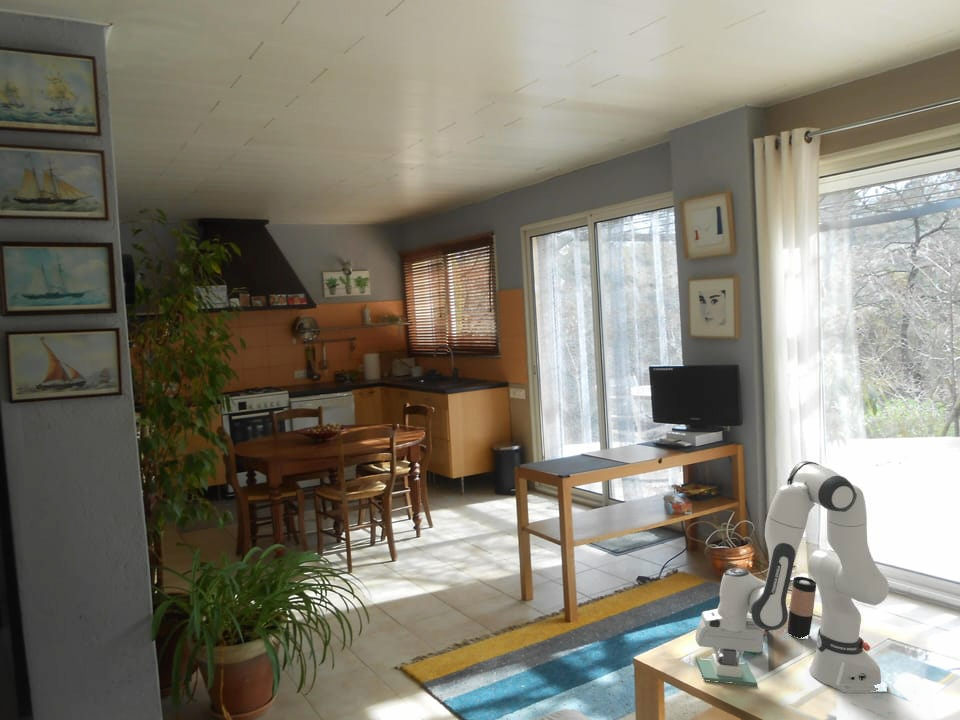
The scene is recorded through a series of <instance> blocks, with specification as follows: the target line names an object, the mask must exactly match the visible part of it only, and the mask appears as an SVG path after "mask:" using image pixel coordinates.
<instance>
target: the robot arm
mask: <svg viewBox="0 0 960 720" xmlns="http://www.w3.org/2000/svg"><path fill="white" fill-rule="evenodd" d="M790 471H791V472H790V473H789V476H788V478H787V481H786V483H787V484H784V485H781V486H780V487H779V488H778V489H777V491H776V492H775V495H774V497H773V499H772V501H771V504H770V506H769V509H768V512H767V516H766V520H765V525H764V526H765V527H764V538H765V539H764V540H765V544H766V548H767V552H768V560H769V563H768V571H767V575H766V578H765V580H762V579H760V578H758V577H757V576H755V575H754V574H752V573H751V572H750V571H749V570H747V569H745V568H742V567H731V568H729V569H727V570H726V571H724V573H723V575H722V578H721V582H720V587H719V604H718V606H717V607H716V608H714V609H710V610H703V611H702V612H701V620H699V622H698V624H697V627H696V633H695V642H696V644H697V645H698V646H699V647H702V648H710V649H711V648H712V649H713V651H714V654H716V657H715V658H716V661H721V659H722V656H721V654H720V648H721V649H731V650H736V651H737V654H736V663H739V662H740V659H741V658H742V657H743V655H744V654H745V652H747V651H751V652H759V653H761V652H762V651H763V649H764V635H765V634H764V633H765V630H769V631H775V630H776V631H777V630H779V629H781V628H783V627H784V626H785V625H786V624H787V623H788V622H787V621H788V620H789V611H788V607H787V594H788V591H789V586H790V582H791V577H792V574H793V569H794V564H795V561H796V558H797V556H798V555H797V554H798V552H799V548H800V545H801V542H802V540H803V536H804V533H805V531H806V527H807V523H808V519H809V514H810V512H811V510H812V509H813V508H814V507H815V506H816V504H818V505H819V506H821V507H823V508H824V509H826V538H827V542H828V544H829V546H830V547H831V548H832V549H833V550H832V551H831V550H829V549H818V550H816V551H814V552H813V553H812V554H811V555H810V557H809V559H808V560H807V561H808V562H807V569H808V572H809V574H810V576H811V577H812V578H813V579H812V580H814V581H815V582H816V588H817V589H818V592H819V596H820V599H821V600H820V601H821V619H820V627H819V629H818V633H817V636H816V650H815V653H814V657H813V659H812V662H811V664H810V666H809V668H808V672H809V673H810V674H811V675H812V677H814V679H816V680H818V681H819V682H821V683H822V684H826V685H827V686H831V687H833V688H835V689H837V690H838V691H840V692H841V693H849V694H850V693H851V694H852V693H854V694H855V693H865V692H866V693H867V692H871V691H876V690H878V688H875V686H874V685H877V684H880V683H881V676H882V673H881V669H880V666H879V665H878V662H877V661H876V660H875V659H874V658H873V657H872V656H871V655H870V654H869V653H868V652H869V651H870V650H871V646H870V645H869V643H867V642H866V641H864V639H863V638H862V637H860V630H861V623H862V616H861V615H862V614H861V612H860V610H859V608H858V607H857V606H856V605H855V604H854V602H853V600H855V601H857V602H859V603H862V604H866V605H870V606H878V605H879V604H882V602H884V601H885V600H886V599H887V597H888V595H889V590H890V585H889V581H888V578H887V577H886V576H885V575H884V574H883V573H882V572H881V571H880V569H879V568H878V566H877V564H876V562H875V561H874V558H873V556H872V554H871V550H870V547H869V543H868V531H867V530H868V529H867V527H868V522H867V521H868V519H867V518H868V517H867V516H868V515H867V506H866V499H865V496H864V493H863V491H862V490H861V488H860V487H858V486H857V485H854V484H852V483H851V481H849V480H848V479H847V478H846V477H844V476H842V475H840V474H839V473H837V472H836V471H834V470H833V469H830V468H828V467H825V466H823V465H820V464H819V463H816V462H813V461H808V460H807V461H806V460H805V461H801V462H799V463H797V464H796V465H795V466H794V467H793V468H792V470H790ZM852 599H853V600H852ZM749 612H751V614H752V619H753V621H754V622H753V621H747V614H748V613H749ZM866 693H865V694H866ZM867 694H868V693H867Z"/></svg>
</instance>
